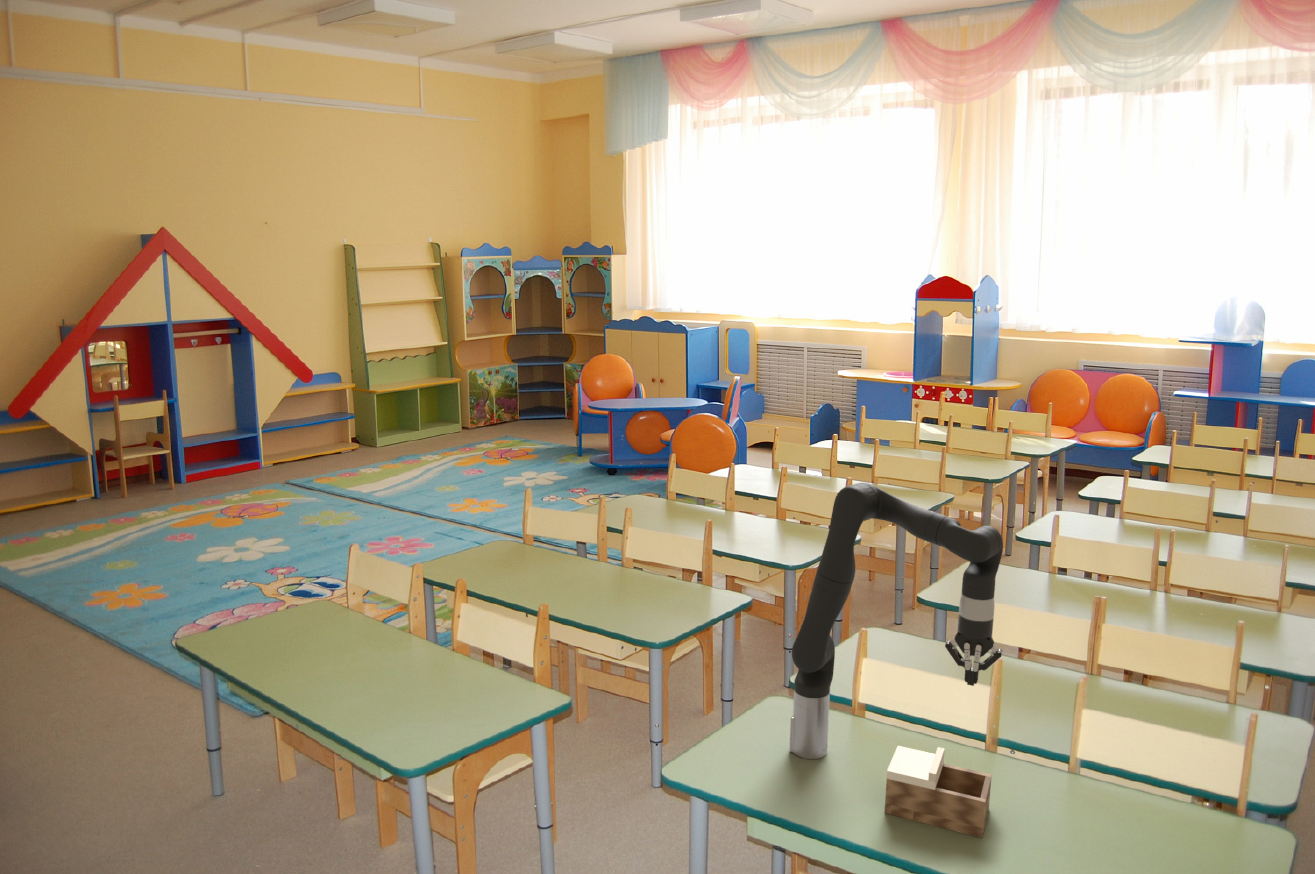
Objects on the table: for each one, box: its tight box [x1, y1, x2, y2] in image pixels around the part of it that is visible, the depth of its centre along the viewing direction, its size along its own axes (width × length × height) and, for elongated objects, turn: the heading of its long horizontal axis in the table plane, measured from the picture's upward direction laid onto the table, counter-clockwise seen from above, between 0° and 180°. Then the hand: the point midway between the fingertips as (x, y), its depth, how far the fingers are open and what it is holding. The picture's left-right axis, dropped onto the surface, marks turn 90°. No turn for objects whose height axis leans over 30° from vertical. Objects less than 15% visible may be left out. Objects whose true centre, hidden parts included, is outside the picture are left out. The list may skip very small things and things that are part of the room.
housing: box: [884, 763, 992, 839], centre depth 225 cm, size 22×12×9 cm, turn 65°
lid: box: [886, 745, 946, 790], centre depth 226 cm, size 11×12×4 cm
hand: (970, 683), depth 221 cm, fingers closed
